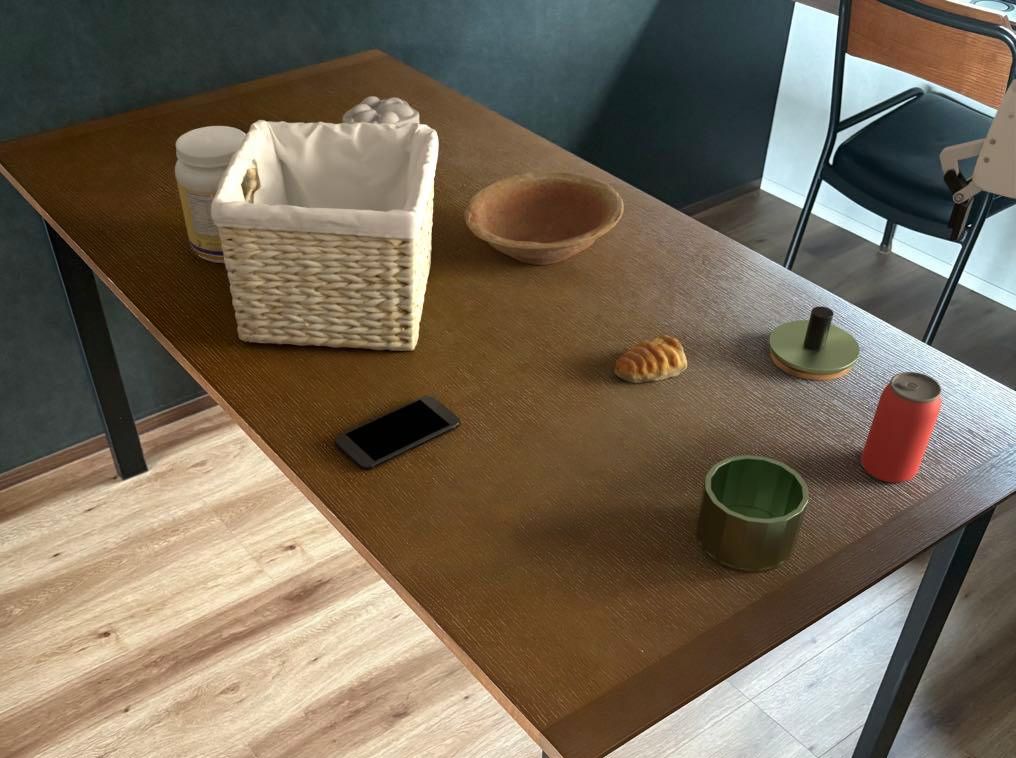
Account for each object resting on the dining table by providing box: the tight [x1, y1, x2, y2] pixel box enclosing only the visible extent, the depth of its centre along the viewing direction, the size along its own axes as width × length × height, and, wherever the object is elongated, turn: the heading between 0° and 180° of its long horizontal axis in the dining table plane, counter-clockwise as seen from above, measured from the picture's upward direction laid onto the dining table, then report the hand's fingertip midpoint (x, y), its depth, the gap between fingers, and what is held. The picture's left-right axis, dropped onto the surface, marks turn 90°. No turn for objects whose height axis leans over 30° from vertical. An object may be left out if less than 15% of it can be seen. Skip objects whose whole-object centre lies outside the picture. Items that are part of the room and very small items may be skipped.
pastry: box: [614, 334, 688, 384], centre depth 142 cm, size 9×7×4 cm
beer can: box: [860, 371, 943, 484], centre depth 125 cm, size 7×7×12 cm
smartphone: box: [333, 395, 461, 471], centre depth 134 cm, size 7×15×1 cm, turn 128°
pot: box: [695, 454, 810, 573], centre depth 118 cm, size 11×11×8 cm
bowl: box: [463, 171, 625, 266], centre depth 164 cm, size 24×24×8 cm
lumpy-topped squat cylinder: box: [341, 95, 421, 127], centre depth 188 cm, size 10×13×9 cm
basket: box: [211, 119, 439, 352], centre depth 148 cm, size 27×27×22 cm
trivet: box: [769, 349, 853, 381], centre depth 145 cm, size 11×11×1 cm
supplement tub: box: [174, 125, 249, 264], centre depth 162 cm, size 12×12×17 cm
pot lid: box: [768, 305, 861, 374], centre depth 143 cm, size 12×12×6 cm
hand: (1003, 247), depth 110 cm, fingers open, 9 cm apart
